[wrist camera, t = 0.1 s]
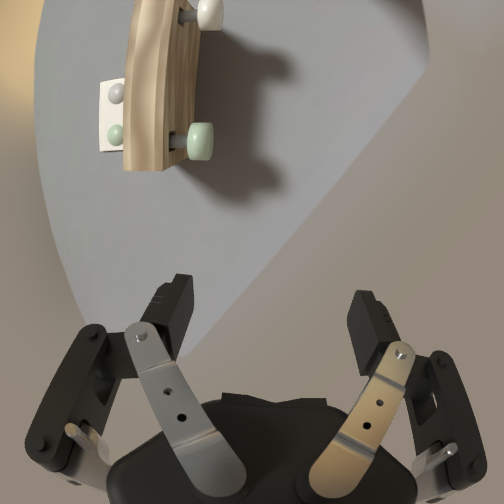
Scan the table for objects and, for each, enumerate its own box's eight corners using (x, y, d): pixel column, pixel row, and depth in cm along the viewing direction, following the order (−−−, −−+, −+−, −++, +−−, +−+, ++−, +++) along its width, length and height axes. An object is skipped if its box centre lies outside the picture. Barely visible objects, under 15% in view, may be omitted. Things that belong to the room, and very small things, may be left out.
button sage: (214, 122, 30) (206, 123, 26) (213, 157, 32) (204, 163, 28) (169, 122, 30) (155, 124, 26) (169, 156, 32) (155, 162, 28)
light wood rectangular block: (202, 19, 28) (176, -12, 17) (192, 154, 38) (162, 171, 28) (170, 22, 28) (135, -4, 17) (161, 154, 38) (123, 171, 28)
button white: (224, 5, 22) (218, -8, 18) (221, 34, 24) (214, 23, 20) (179, 9, 22) (167, -3, 18) (176, 37, 24) (163, 28, 20)
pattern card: (102, 82, 32) (100, 82, 32) (138, 76, 32) (136, 75, 32) (101, 150, 38) (99, 151, 38) (136, 148, 38) (134, 149, 37)
